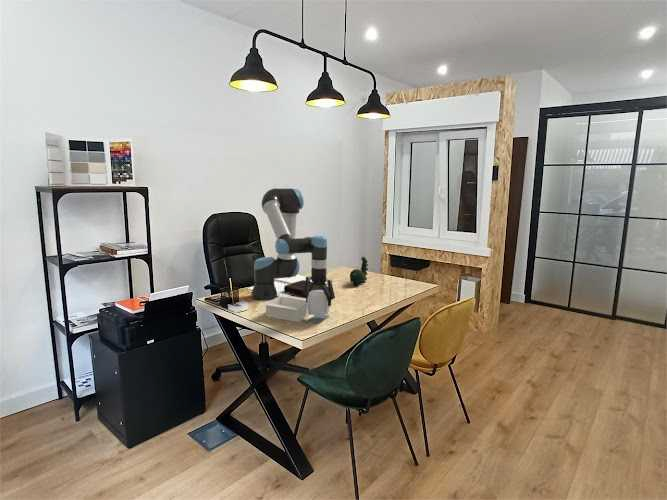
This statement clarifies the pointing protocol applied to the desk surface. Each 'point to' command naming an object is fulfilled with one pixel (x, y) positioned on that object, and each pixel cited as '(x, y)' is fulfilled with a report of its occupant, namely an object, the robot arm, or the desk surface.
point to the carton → (287, 308)
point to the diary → (300, 288)
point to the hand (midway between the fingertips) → (318, 310)
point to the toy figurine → (359, 273)
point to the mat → (318, 318)
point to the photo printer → (317, 302)
